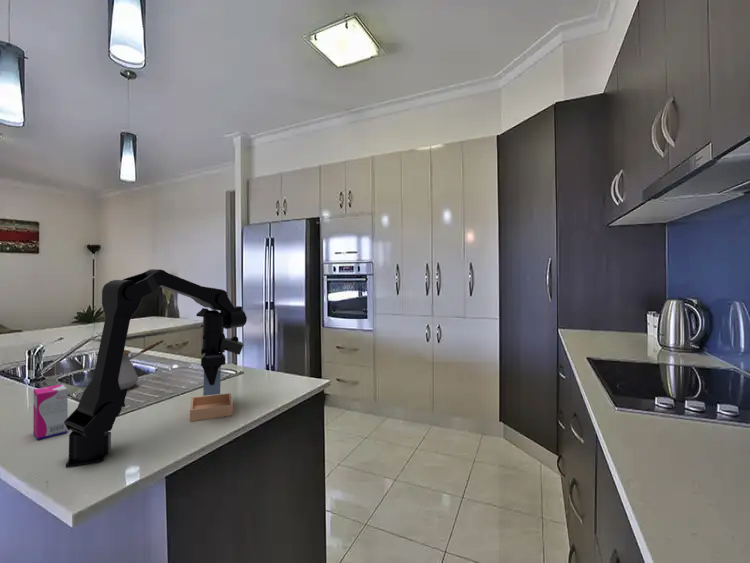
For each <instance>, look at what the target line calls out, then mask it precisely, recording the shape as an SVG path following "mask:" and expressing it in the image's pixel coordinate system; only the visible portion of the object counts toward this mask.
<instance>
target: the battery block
mask: <svg viewBox="0 0 750 563" xmlns="http://www.w3.org/2000/svg"><path fill="white" fill-rule="evenodd" d="M221 371H222V365H221V366H220V367H219V368H218V372H217V375H216V379H215V383H214V385H210V384H209V381H208V379H207V377H206V374H205V372H204V371H203V386H202V387H203V389H202V390H203V391H202V392H203V394H202V395H203V396H210V395H219V394H221V381H222V380H221V378H222V376H221V375H222V374H221Z"/></svg>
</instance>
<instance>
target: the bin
mask: <svg viewBox="0 0 750 563" xmlns="http://www.w3.org/2000/svg"><path fill="white" fill-rule="evenodd" d="M232 399H233V398H232V393H220V394H216V395H207V396H193V397H191V398H190V405H189V406H190V407H189V422H196V421H204V420H212V419H218V417H219V418H225V417H224V416H226V417H231V416H230V415H233V416H234V403H233V400H232Z"/></svg>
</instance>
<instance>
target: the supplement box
mask: <svg viewBox="0 0 750 563" xmlns="http://www.w3.org/2000/svg"><path fill="white" fill-rule="evenodd" d="M68 396H69V395H68V387H66V386H65V385H64V384H63V383H62V384H57V385H50V386H45V387H39V388H33V406H32V408H33V418H32V420H33V421H32V422H33V426H32V427H33V430H32V431H33V434H34V437H35V439H36V440H37V441H40V440H45V439H49V438H52V437H57V436H60V435H64V434H68V431H69V430H68V429H67V428H66V426H65V424H64V421H65V420H66V419H67V418H68V417H69V416H68V409H69V408H68V406H69V405H68V401H69V399H68Z"/></svg>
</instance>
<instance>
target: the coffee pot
mask: <svg viewBox="0 0 750 563" xmlns="http://www.w3.org/2000/svg"><path fill="white" fill-rule="evenodd" d="M160 344H163V345H164V346H165V345H166V342H165V341H164V340H163V339H162V340H159V341H156V342H155V343H154V344H151V345H149V346H148V347H146V348H144V349H142V350H140V351H139V352H137V353H135V354H132V355H131V356H129V355H130V353H131V350H127V349H124V354H123V359H122V364H121V369H120V374H119V385H120V387H123V388H126V389H127V390H129V389H131V388H132V387H133V386H134V385H136V384H137V383H138V381H139V376H138V374H137V372H136V370H135V368H134V366H133V364H132V361H131V360H132V359H134V358H136V357H137V356H139V355H141V354H144V353H145V352H147V351H150V350H151V349H154V348H155V347H156V346H159V345H160Z"/></svg>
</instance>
